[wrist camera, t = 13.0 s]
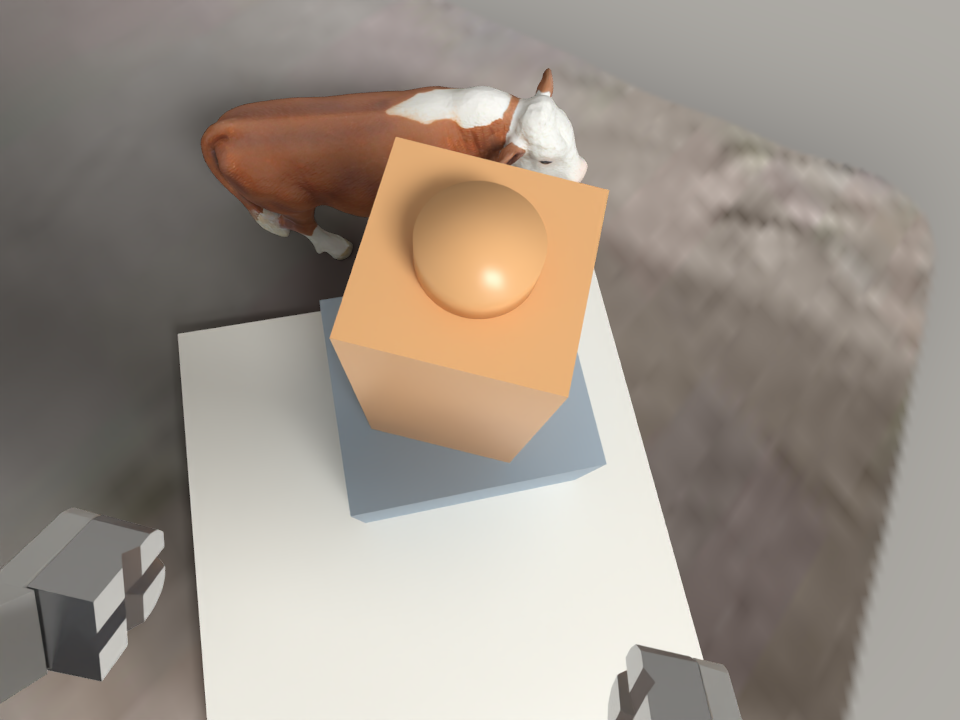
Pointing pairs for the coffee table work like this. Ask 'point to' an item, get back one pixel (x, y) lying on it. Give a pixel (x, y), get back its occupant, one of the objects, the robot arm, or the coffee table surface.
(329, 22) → the coffee table surface
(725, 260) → the coffee table surface
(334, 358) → the base block
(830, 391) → the coffee table surface
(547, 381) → the tall brick
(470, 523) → the baseplate
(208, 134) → the bull figurine
